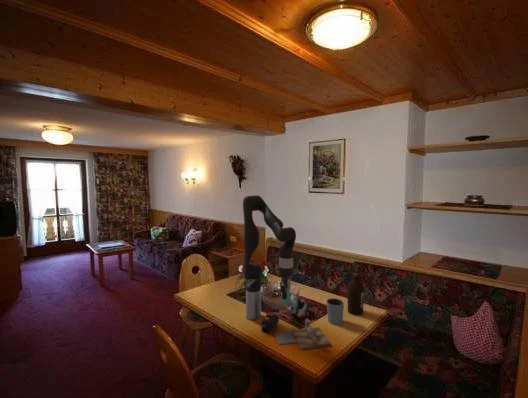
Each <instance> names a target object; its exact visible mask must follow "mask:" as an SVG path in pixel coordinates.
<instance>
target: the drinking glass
mask: <svg viewBox="0 0 528 398" xmlns="http://www.w3.org/2000/svg"><path fill="white" fill-rule="evenodd" d="M325 303H326V311H327V312H326V313H327V322H328V323H329V324H331V325H335V326H339V325H342V324H343V322H344V306H345V302H344V301H343V300H342V299H340V298H335V297H334V298H333V297H332V298H328V299H326V302H325Z"/></svg>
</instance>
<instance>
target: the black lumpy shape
mask: <svg viewBox="0 0 528 398" xmlns="http://www.w3.org/2000/svg"><path fill="white" fill-rule="evenodd" d="M264 316H265V318H263V319H261V322H260V324H261V326H260V329H261V332H262V333H265V334H270V333H272V332H273V330H275V327H276V326H277V325H278V324H279V321H280V319H279V317H278V315H277V314H275V313H273V314H266V315H264Z"/></svg>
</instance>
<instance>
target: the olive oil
mask: <svg viewBox="0 0 528 398" xmlns="http://www.w3.org/2000/svg"><path fill="white" fill-rule="evenodd" d="M365 289H366V288H365V286H364V284H363V283H362V282H361V281H360V274H359V273H356V272H354V273H353V277H352V280H351V281H349V283H348V284H347V288H346V291H347V292H346V294H347V313H348V314H350V315H353V316H361V315H363V313H364V305H365V304H364V303H365V292H366V291H365Z"/></svg>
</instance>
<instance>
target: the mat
mask: <svg viewBox="0 0 528 398" xmlns="http://www.w3.org/2000/svg"><path fill="white" fill-rule="evenodd" d="M273 335H274V337H275V340H276V341H277V344H278V345H279V346H280V345H289V344H298V343H297V340H296V338H295V336H294V335H293V333H292V330H291V331H284V332H274V333H273Z"/></svg>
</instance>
